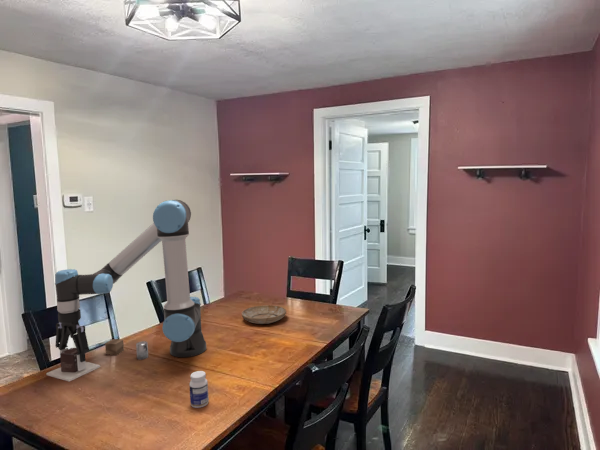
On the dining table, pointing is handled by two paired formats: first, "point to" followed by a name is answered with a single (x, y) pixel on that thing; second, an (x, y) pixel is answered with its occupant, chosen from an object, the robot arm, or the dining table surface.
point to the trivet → (69, 375)
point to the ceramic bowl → (263, 314)
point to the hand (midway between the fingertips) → (73, 367)
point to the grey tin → (142, 350)
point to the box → (69, 360)
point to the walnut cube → (114, 346)
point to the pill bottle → (198, 389)
